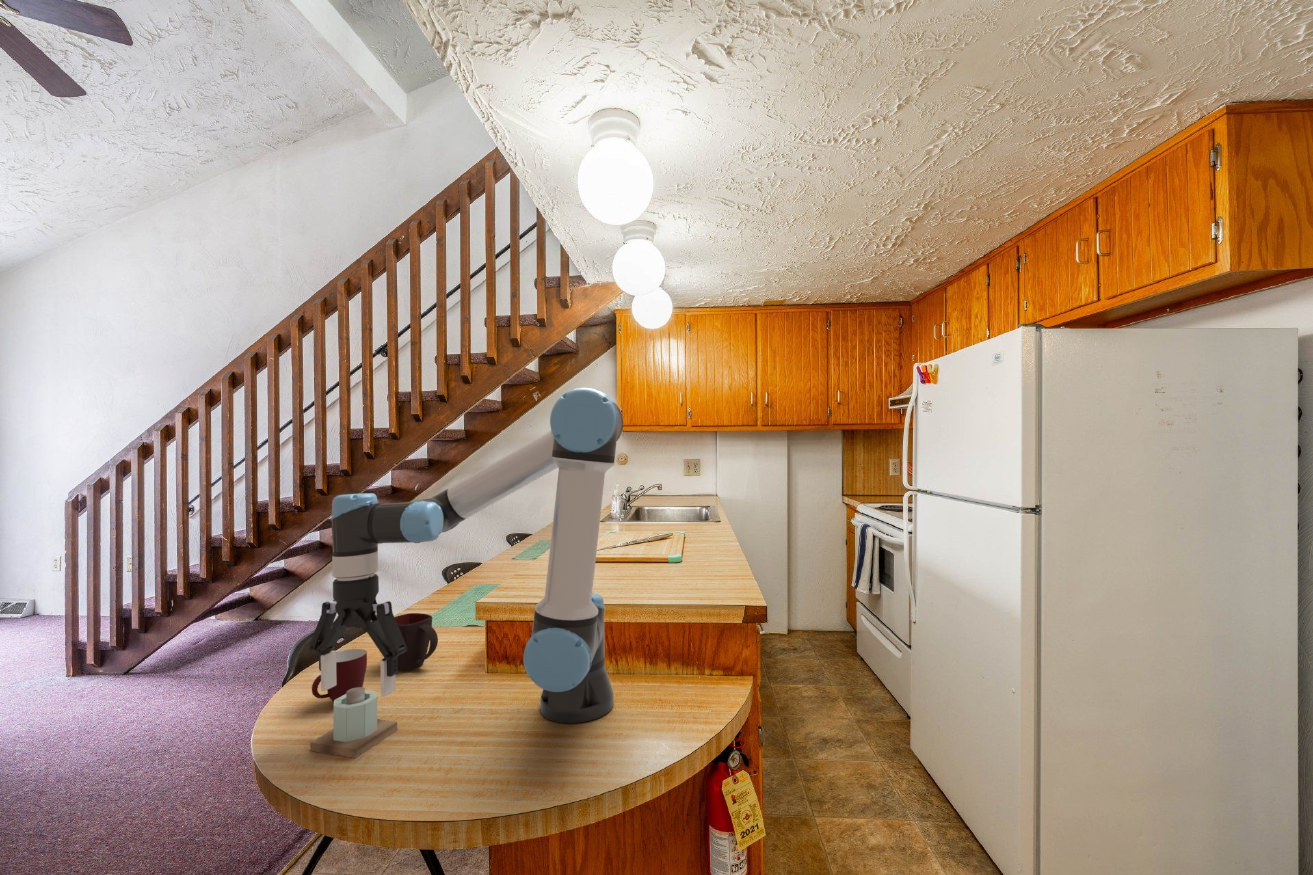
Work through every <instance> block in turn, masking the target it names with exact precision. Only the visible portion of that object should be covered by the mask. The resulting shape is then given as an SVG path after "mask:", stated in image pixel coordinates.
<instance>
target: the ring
mask: <svg viewBox="0 0 1313 875" xmlns="http://www.w3.org/2000/svg"><path fill="white" fill-rule="evenodd" d="M377 693H378V692H377V691H375V690H367V689H365V701H363V702H361V703H356V704H351V705H347V704H346V694H345V695H343V696H341V697H339V698H337V699H336V700H334V703H333V722H332V723H333V724H332V726H333V728H332V729H333V740H335V741H342V742H349V741H353V740H358V739H362V738H365V737H367V736H368V735H370V734H371V733H373V732H375V731H376V730H377V719H378V694H377Z"/></svg>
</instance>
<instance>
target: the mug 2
mask: <svg viewBox="0 0 1313 875" xmlns="http://www.w3.org/2000/svg"><path fill="white" fill-rule="evenodd" d="M394 618H395V620H396V622H397V625H398V627H399V629H400V632H401V634H402V636H403V639H404V641H405V644H406V646H407V651H406V652H404V653H402V654H400V655H398V672H401V673H408V672H412V671H414V670H418V669H419V668H421V667H422V666H423V665H424V664H425V661H426V660H427V659H429V658H430V657H431V656H432V655H433V653H434V652H435V651H436V649H437V646H438V643H439V637H438V634H437V631H436V630H435V628H434V627H433V616H432V615H431V614H428V613H421V612H420V613H419V612H416V613H415V612H411V613H404V614H401V615H397V616H394ZM398 648H399V647H398ZM389 651H390V650H389Z"/></svg>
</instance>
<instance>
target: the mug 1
mask: <svg viewBox="0 0 1313 875" xmlns="http://www.w3.org/2000/svg"><path fill="white" fill-rule="evenodd" d="M367 665H368V651H367V650H365V649H362V648H352V649H351V648H350V649H344V650H340V651H336V680H337V685H336V686H334V687H332V688H330V689H328V690H326V691H327V692H326V693H325V694H320V692H319V685H320V684H321V674H319V675H318V676H317V677H316V678H315V679H314V681H313V682H312V685H311V692H312V696H314V697H315V698H317V699H328V698H329V699H330V700H331V701H332V703H333V704H334V700H336V699H337V698H339V697H341V696H343V695H345V694H346V692H347V691H348V690H350V689H352V688H357V687H363V686H364V682H365V678H366V677H365V675H366V672H367V671H366V670H367ZM363 688H364V687H363Z"/></svg>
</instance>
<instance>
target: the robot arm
mask: <svg viewBox="0 0 1313 875" xmlns="http://www.w3.org/2000/svg"><path fill="white" fill-rule="evenodd" d="M549 424H550V431H548V432H546V433H544V434H542V435H541V436H539V437H537V438H535V439H533V440H532V441H530V442H528V443H527V444H525V445H523V446H521V447H519V448H518V449H516V450H514V451H512V452H511V453H508V454H507V455H505V456H504V457H502V458H500V459H498V460H496V461H495V462H493V463H491V464H489V465H488V466H485V467H484V468H481V469H480V470H479V471H477V472H475V473H473V474H472V475H470V476H467V477H466V478H464V479H463V480H460V481H459V482H457V483H456V484H453V485H452V486H450V487H448V488H447V489H445V490H443V491H441V492H439V493H438V494H436V495H434V496H432V497H430V498H426V499H425V498H423V499H420V500H413V501H405V502H389V503H384V502H383V503H381V502H378V501H379V500H378V496H377V495H376V494H375V493H371V492H370V493H369V492H368V493H362V492H361V493H348V494H340V495H339V494H338V495H336V496H335V497H334V498H333V499H332V503H331V506H332V507H331V518H330V522H331V535H332V536H331V537H332V538H331V539H332V540H331V541H332V555H331V556H332V558H331V559H332V560H331V561H332V562H331V564H332V570H331V572H332V573H331V574H332V577H333V578H334V579H333V582H332V598H333V599H331V600H327V601H324V602H322V604H321V614H320V616H319V619H318V622H317V624H316V627H315V629H314V632H313V635H312V637H311V640H310V642H309V645H308V649H309V651H311V652H313V651H314V652H316V654H317V655H318V669H319V672H320V675H321V682H320V690H321V692H326V691H327V690H328V689H330V688H332V687H334V686H336V685H337V680H336V652H337V651H336V650H334V649H336V647H335V645H336V644H337V643H338V641H339V639H340V638H341V637H342V635H343V634H344V632H345V631H346V630H347V628H356V629H360V628H361V629H362V631H364V632H366V633H367V635H368V636H369V637H370V639H371V640H372V642H373V643H374V645H375V646H376V648H377V649H378V651H379V653H381V655H382V657H383V658H381V659H380V660H379V661H380V663H379V664H380V697H382V698H383V697H385V698H386V697H387V696H389V695H390V694H392V693H393V692H396V690H397V689H396V675H397V674H398V672H399V671H398V655H400V654H402V653H404V652H406V651H407V646H406V644H405V641H404V639H403V636H402V634H401V632H400V629H399V627H398V625H397V622H396V620H395V618H394V617H395V616H394V613H393V606H392V602H391V601H390V600H388V601H387V600H386V601H385V602H382V603H381V602H380V603H378V602H377V595H378V594H379V592H380V591H379V590H380V589H379V587H380V586H379V584H380V583H379V582H380V580H379V579H380V578H379V575H378V574H377V572H378V571H379V557H378V556H379V548H378V547H379V545H381V544H395V543H397V544H400V543H401V544H402V543H404V544H405V543H414V544H420V543H425V542H433V541H436V540H437V539H438V538H439V535H441V533H446V532H448V531H450V530H453V529H454V528H456V527H457V526H458V525H459V524H460V523H462V522H464V521H465V520H466V519H468V518H470V517H472V516H474V515H475V514H477V513H479V512H481V511H483V510H485V509H487V508H488V507H490V506H492V505H494V504H495V503H497V502H498V501H501V500H502V499H504V498H506V497H508V496H510V495H511V494H513V493H515V492H516V491H518V490H520V489H522V488H524V487H526V486H528V485H529V484H531V483H532V482H536V481H537V480H539V479H540V478H542V477H544V476H545V475H547V474H549V473H551V472H553V471H554V470H556V469H558V471H557V472H558V475H557V484H556V493H555V501H554V510H553V518H552V526H551V537H550V544H549V545H550V547H549V556H548V562H547V563H548V564H547V573H546V582H545V592H544V597H543V599H541V600H540V601H539V602H538V603H536V604H535V607H534V613H533V623H532V632H531V637H530V638H528V641H527V643H526V645H525V647H524V652H523V657H522V658H523V660H522V661H523V667H524V669H525V670H524V671H525V673H526V675H527V676H528V678H529V679H531V681H532V682H533V684H535V686H537V687H538V688H540V689H542V690H541V691H542V692H541V694H540V699H539V700H540V701H539V703H540V704H539V706H540V707H539V708H540V714H541V715H542V716H543V717H545V718H546V719H548V720H550V721H552V722H556V723H563V724H578V723H585V722H591V721H594V720H596V719H599V718H601V717H604V716H605V715H606V714H608V713H609V712H610V711H611V710H612V709H613V707H614V702H615V701H614V697H615V696H614V689H613V687H612V684H611V680H610V678H609V674H608V671H607V669H606V665H605V664H606V662H605V660H606V658H605V655H606V654H605V652H606V651H605V649H606V648H605V611H606V607H605V604H604V598H603V596H602V595H600V594H598V593H595V592H594V593H593V587H594V579H595V570H596V560H597V551H598V541H599V532H600V523H601V514H602V512H601V511H602V506H603V505H602V504H603V495H604V486H605V475H606V472H607V471H608V470H610V469H611V468H612V467H613V466H615V459H616V450H617V442H618V441H619V439H620V437H621V435H622V432H623V428H624V418H623V414H622V411H621V410H620V408H619V406H618V405H617V403H616V402H614V400H612V399H611V397H610V396H609V395H608V394H606V393H605V392H603V391H601V390H599V389H595V388H590V387H578V388H573V389H571V390H569V391H566V392H565V393H564V394H562V395H561V396H560V397H559V398H558V399H557V400H556V401H555V403H554V405H553V407H552V409H551V412H550V418H549ZM336 616H337V617H336ZM398 647H399V648H398ZM389 650H390V651H389Z"/></svg>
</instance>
